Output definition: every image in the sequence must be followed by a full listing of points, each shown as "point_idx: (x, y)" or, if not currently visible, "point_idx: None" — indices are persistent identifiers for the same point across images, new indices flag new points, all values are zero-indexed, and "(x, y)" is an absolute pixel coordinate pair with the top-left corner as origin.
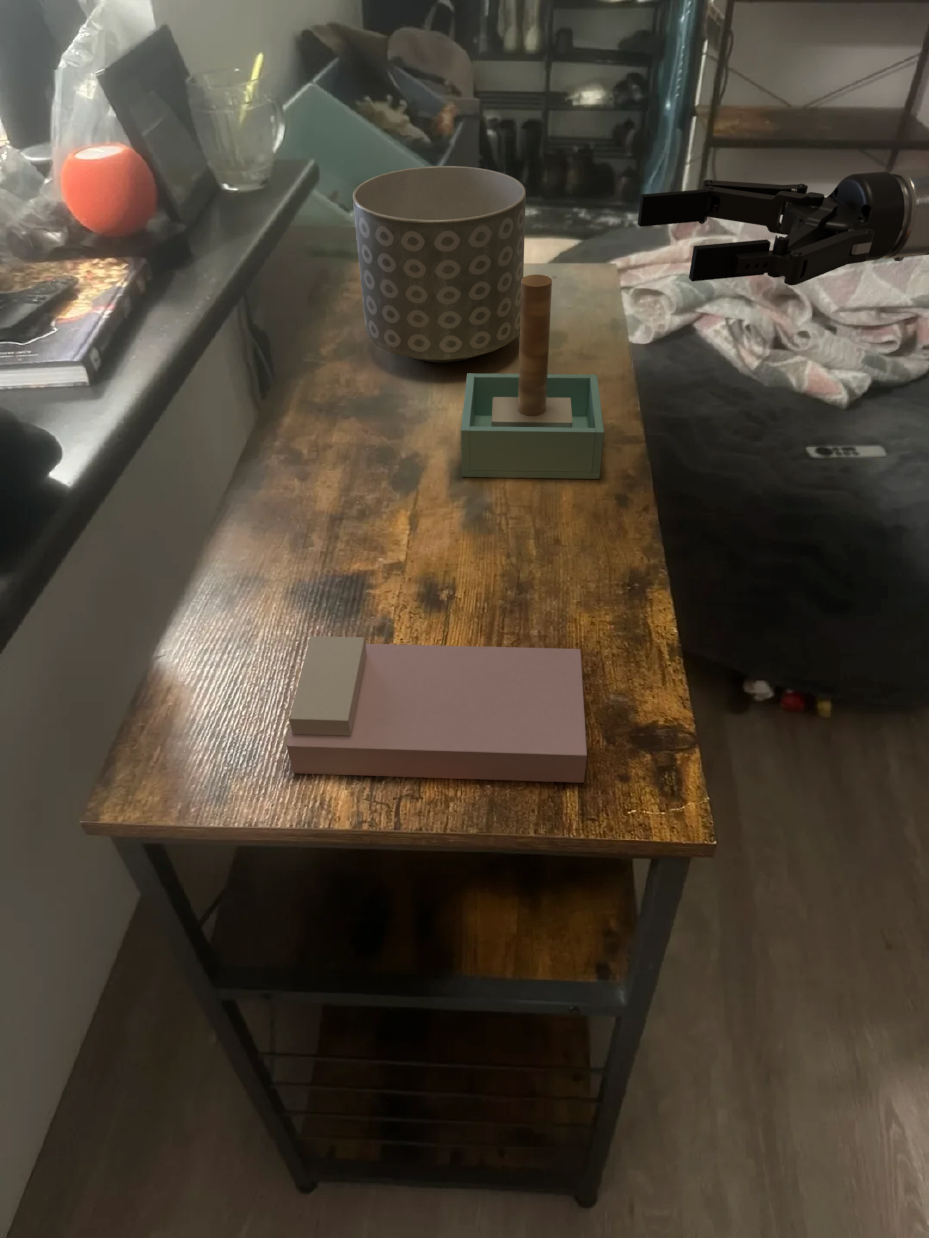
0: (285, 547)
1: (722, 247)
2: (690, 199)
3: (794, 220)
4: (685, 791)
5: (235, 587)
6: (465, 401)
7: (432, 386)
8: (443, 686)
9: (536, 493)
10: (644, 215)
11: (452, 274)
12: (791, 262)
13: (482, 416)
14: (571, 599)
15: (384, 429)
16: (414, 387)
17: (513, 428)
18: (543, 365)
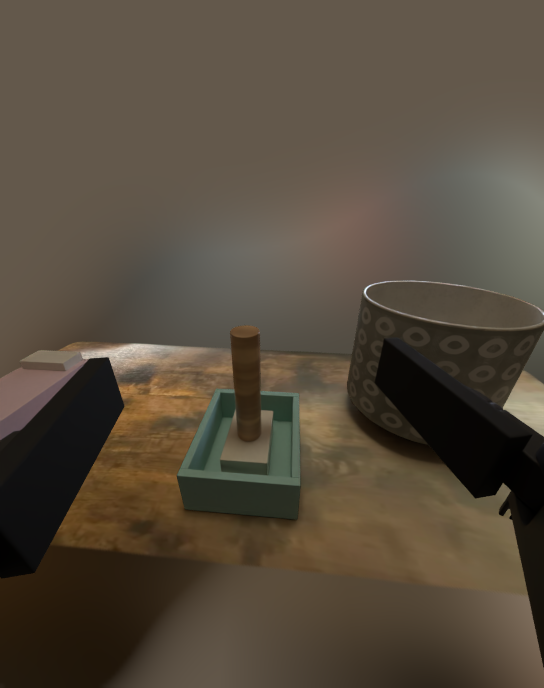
0: (183, 361)
1: (61, 391)
2: (455, 411)
3: None
4: None
5: (163, 353)
6: None
7: (341, 405)
8: (15, 391)
9: (184, 457)
10: (381, 370)
11: (362, 341)
12: None
13: (289, 425)
14: None
15: (282, 385)
16: (338, 397)
17: (208, 413)
18: (236, 401)
